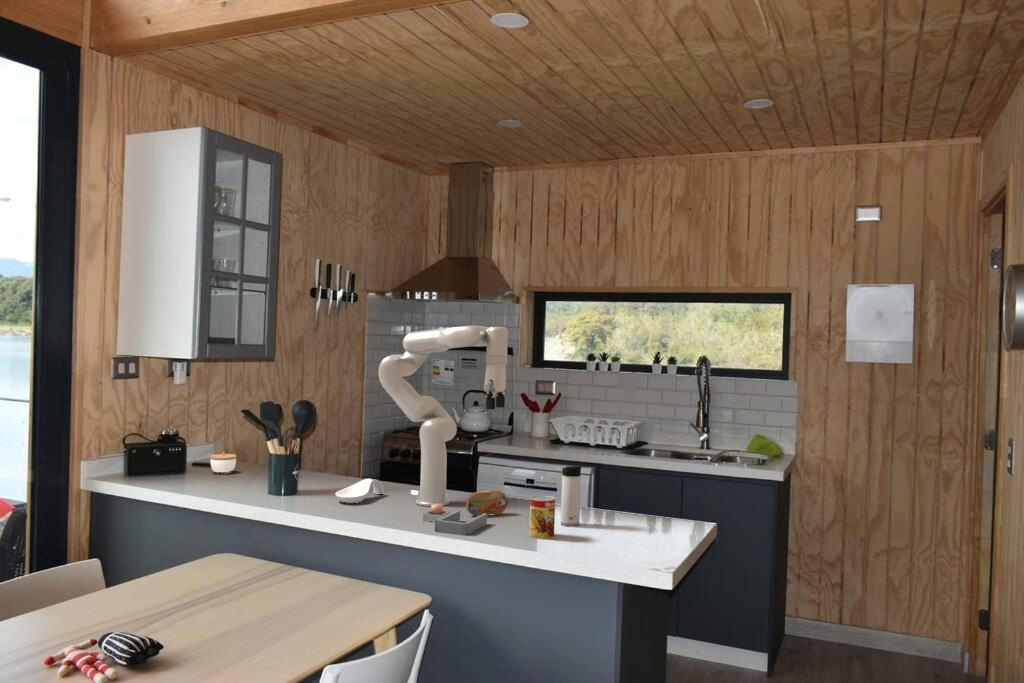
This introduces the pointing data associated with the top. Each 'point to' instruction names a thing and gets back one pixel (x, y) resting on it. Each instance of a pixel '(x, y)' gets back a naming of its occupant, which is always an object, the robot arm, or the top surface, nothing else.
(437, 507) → the button
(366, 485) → the spoon rest
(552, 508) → the canned food
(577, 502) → the travel mug
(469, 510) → the tin
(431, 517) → the switch box
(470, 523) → the bay
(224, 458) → the lidded jar
